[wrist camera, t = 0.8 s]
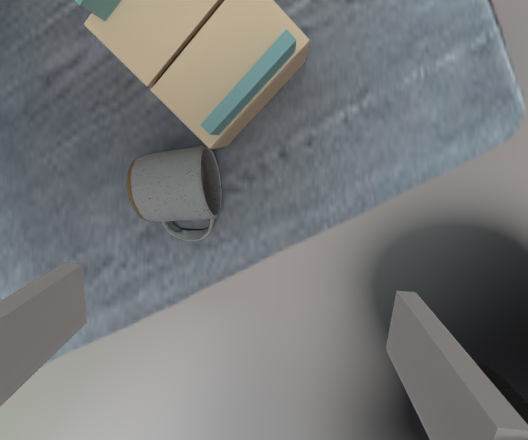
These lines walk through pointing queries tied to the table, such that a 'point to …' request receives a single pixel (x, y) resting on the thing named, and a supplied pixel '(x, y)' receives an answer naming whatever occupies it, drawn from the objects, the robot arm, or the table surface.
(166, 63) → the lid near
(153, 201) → the ceramic mug
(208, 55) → the lid
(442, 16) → the table surface
